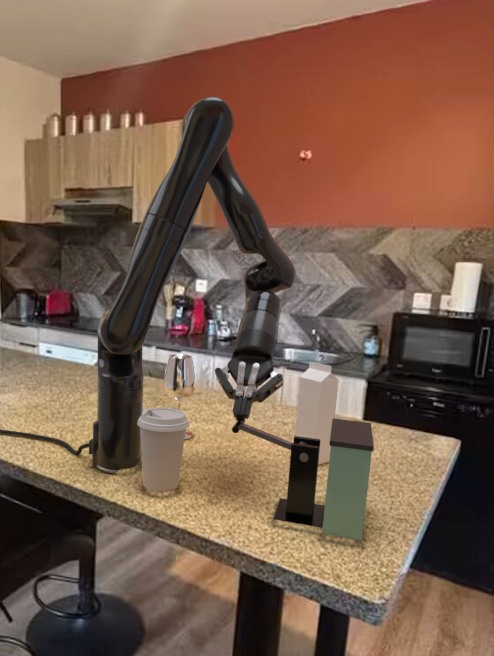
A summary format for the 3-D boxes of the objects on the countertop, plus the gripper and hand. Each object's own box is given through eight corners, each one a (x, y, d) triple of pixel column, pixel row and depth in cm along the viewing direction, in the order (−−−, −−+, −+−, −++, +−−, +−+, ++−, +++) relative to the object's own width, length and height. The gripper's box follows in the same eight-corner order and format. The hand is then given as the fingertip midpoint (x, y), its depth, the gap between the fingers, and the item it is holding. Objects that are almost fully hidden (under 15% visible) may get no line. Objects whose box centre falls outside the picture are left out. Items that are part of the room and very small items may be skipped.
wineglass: (196, 433, 140) (200, 355, 136) (187, 442, 132) (191, 360, 129) (167, 428, 142) (170, 352, 139) (156, 437, 135) (159, 356, 131)
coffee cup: (134, 479, 108) (137, 405, 106) (183, 480, 109) (186, 406, 107) (135, 500, 99) (137, 420, 96) (188, 500, 100) (192, 421, 97)
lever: (229, 434, 93) (234, 422, 93) (236, 425, 99) (240, 413, 98) (309, 467, 90) (314, 454, 89) (312, 455, 96) (317, 443, 95)
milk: (313, 466, 120) (322, 367, 116) (292, 458, 125) (300, 362, 121) (331, 461, 124) (340, 364, 120) (309, 453, 128) (318, 360, 124)
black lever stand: (272, 525, 92) (278, 446, 89) (279, 504, 100) (285, 431, 98) (322, 534, 90) (330, 453, 87) (324, 511, 98) (331, 437, 96)
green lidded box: (320, 540, 88) (329, 440, 85) (324, 506, 100) (332, 418, 97) (362, 548, 86) (373, 446, 83) (361, 512, 98) (370, 422, 95)
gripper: (219, 324, 104) (199, 403, 94) (291, 330, 100) (277, 412, 90) (224, 348, 109) (205, 424, 100) (292, 354, 106) (279, 434, 96)
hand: (240, 418), depth 95 cm, fingers closed
